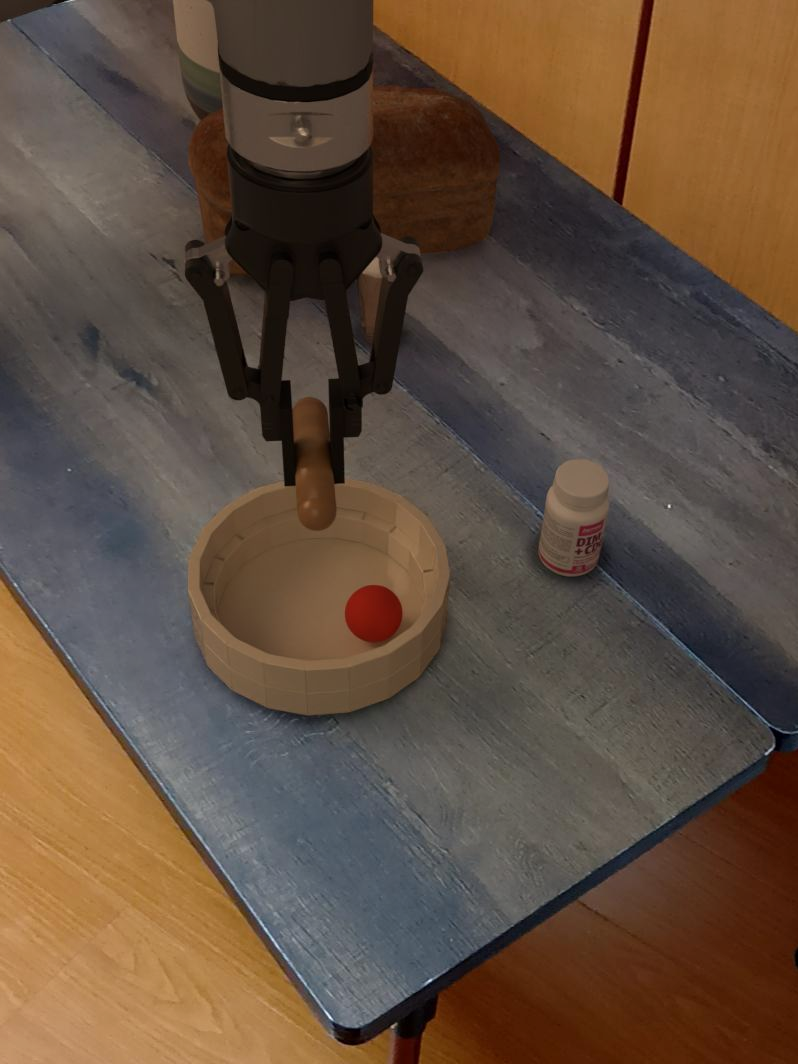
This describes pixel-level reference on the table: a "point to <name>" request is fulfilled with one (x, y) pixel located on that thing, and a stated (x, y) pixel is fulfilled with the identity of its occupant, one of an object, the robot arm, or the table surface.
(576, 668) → the table surface
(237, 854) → the table surface
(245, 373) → the robot arm
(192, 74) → the vase
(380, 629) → the red ball
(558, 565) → the pill bottle
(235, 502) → the bowl
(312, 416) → the sausage
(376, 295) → the milkshake
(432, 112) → the bread
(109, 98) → the table surface
